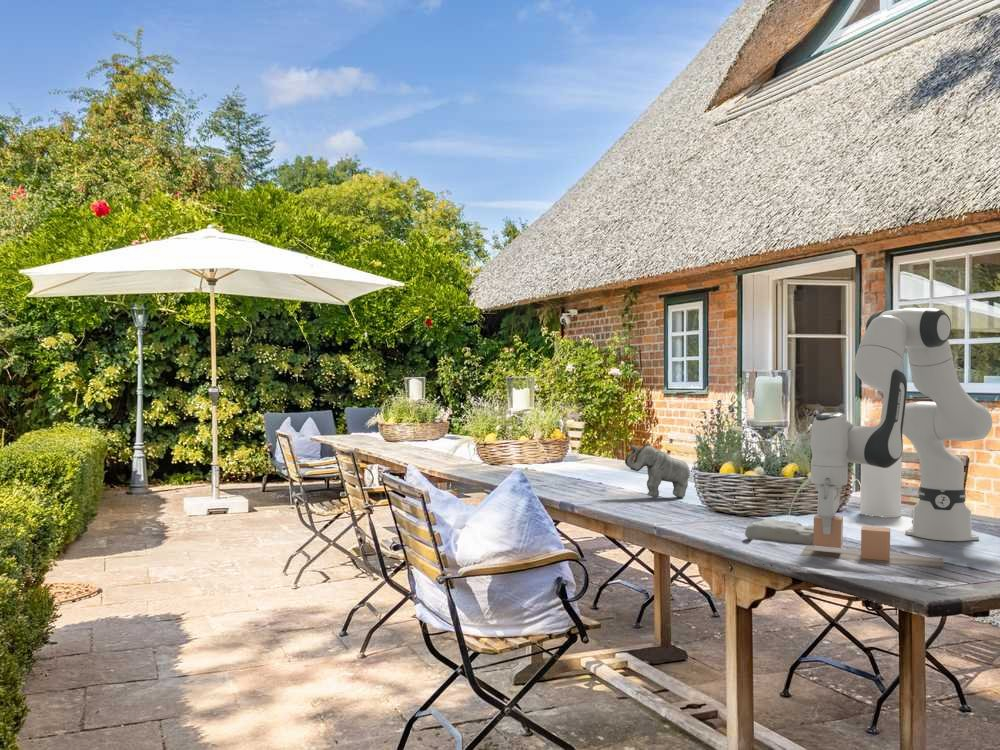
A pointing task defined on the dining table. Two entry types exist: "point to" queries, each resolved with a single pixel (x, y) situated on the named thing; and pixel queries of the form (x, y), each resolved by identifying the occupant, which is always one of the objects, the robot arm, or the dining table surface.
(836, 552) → the board
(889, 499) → the cylinder
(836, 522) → the peach block
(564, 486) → the dining table surface
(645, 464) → the grey animal figurine
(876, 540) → the wooden block
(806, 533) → the stone
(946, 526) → the robot arm
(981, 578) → the dining table surface
